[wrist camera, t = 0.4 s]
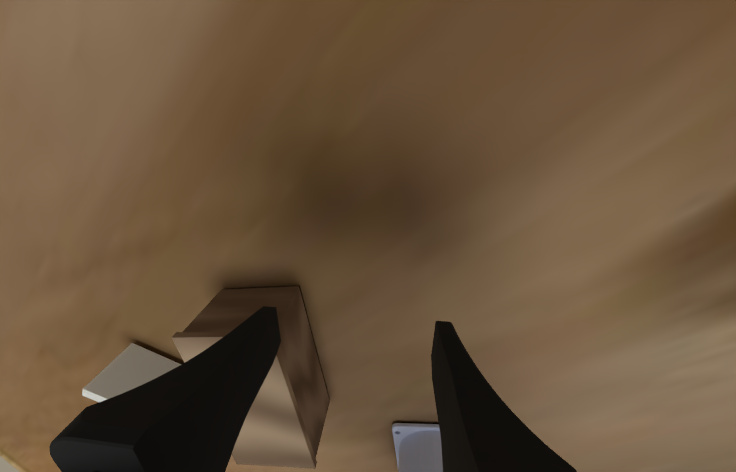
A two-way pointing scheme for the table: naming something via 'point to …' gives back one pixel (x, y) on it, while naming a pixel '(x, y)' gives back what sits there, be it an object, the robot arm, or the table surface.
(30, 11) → the table surface
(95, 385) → the door
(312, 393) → the cabinet
